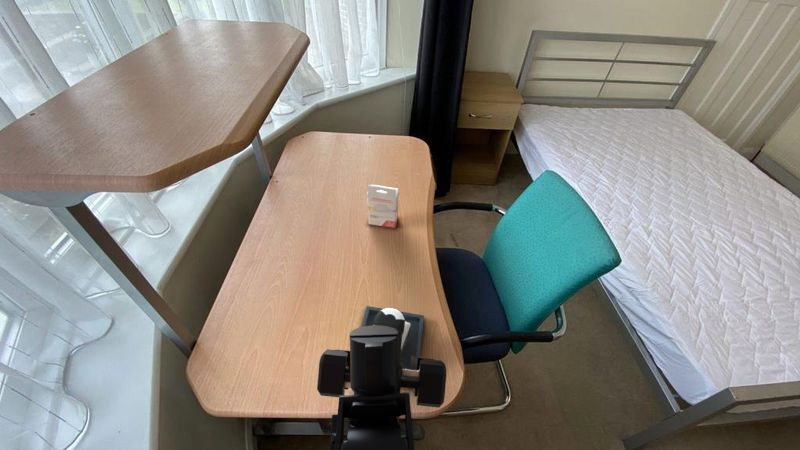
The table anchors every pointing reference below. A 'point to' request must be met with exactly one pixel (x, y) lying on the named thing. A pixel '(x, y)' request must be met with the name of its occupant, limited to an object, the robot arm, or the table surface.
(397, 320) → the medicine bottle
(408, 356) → the tray
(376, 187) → the ink cartridge box
